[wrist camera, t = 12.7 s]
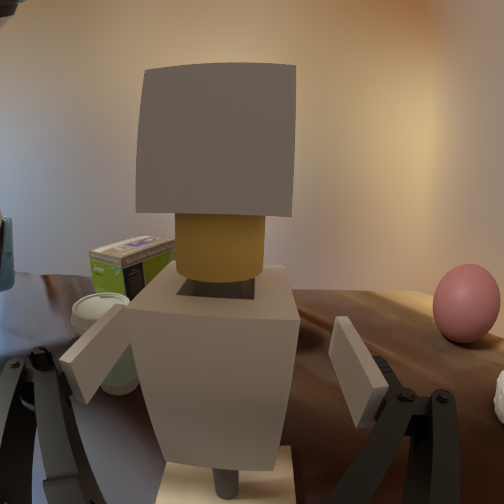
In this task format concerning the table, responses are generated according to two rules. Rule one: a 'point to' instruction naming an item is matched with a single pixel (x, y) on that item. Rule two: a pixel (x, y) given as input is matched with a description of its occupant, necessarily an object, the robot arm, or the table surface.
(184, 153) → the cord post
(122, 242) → the tea box
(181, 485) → the tan slab base
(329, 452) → the table surface
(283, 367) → the marker sleeve
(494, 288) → the balloon
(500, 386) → the bust
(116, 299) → the coffee cup
